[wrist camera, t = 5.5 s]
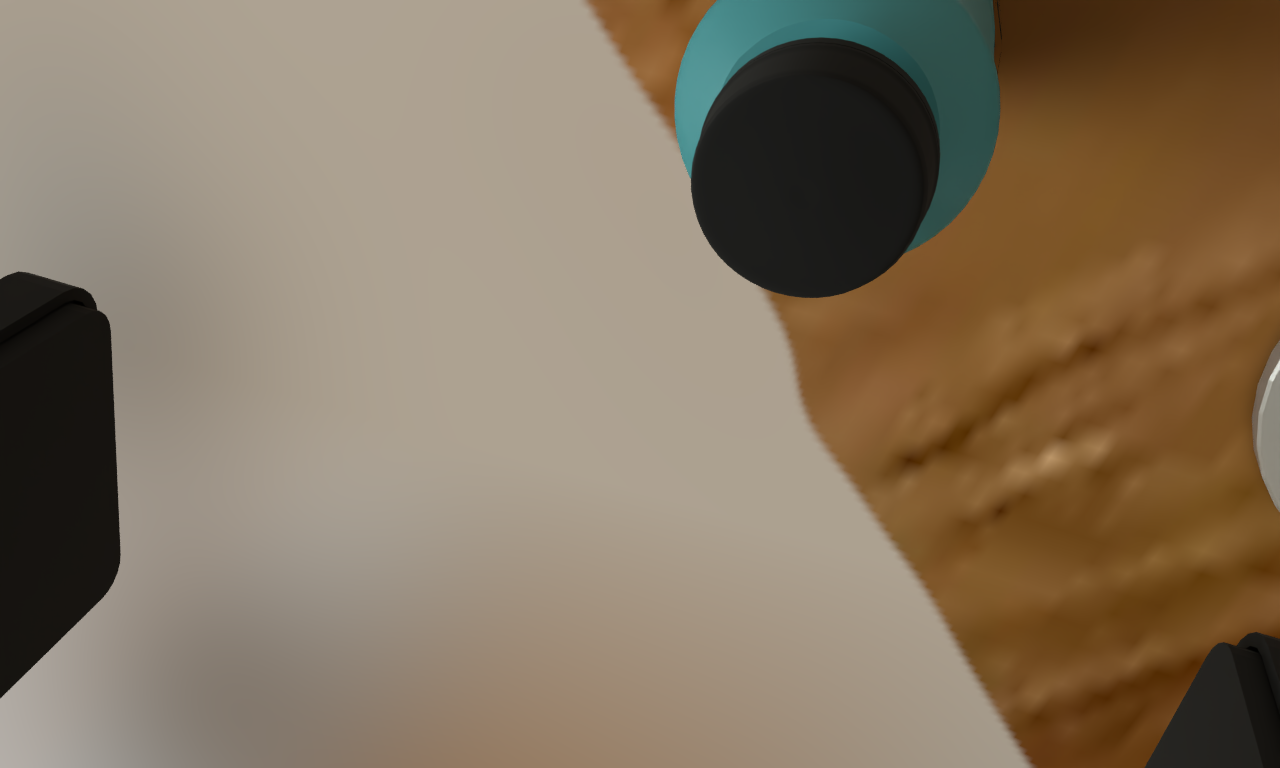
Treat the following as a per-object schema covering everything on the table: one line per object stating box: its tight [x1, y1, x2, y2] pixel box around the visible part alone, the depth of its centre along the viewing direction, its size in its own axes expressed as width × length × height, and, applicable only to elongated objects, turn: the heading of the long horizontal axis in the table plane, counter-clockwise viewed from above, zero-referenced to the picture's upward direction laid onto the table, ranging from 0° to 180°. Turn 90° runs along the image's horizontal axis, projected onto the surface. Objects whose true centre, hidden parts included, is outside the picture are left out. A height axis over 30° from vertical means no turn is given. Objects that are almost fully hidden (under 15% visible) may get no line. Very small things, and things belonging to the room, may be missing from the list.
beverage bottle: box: [675, 0, 1002, 298], centre depth 28 cm, size 6×7×20 cm
